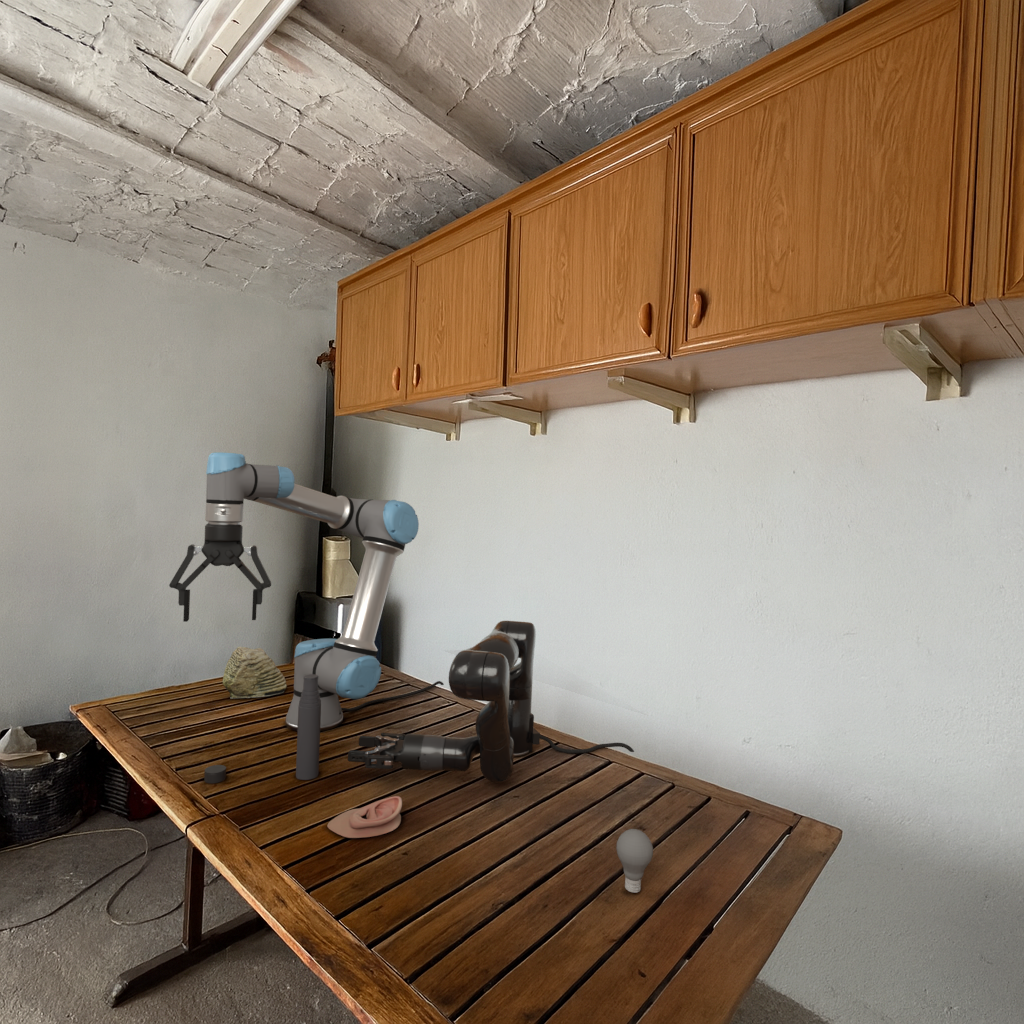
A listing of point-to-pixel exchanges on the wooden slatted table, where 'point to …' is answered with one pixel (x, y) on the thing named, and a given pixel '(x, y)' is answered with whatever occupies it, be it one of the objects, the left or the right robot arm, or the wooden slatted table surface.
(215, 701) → the wooden slatted table surface
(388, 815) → the anatomical model
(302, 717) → the bottle
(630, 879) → the light bulb
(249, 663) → the fossil
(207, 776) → the cap
